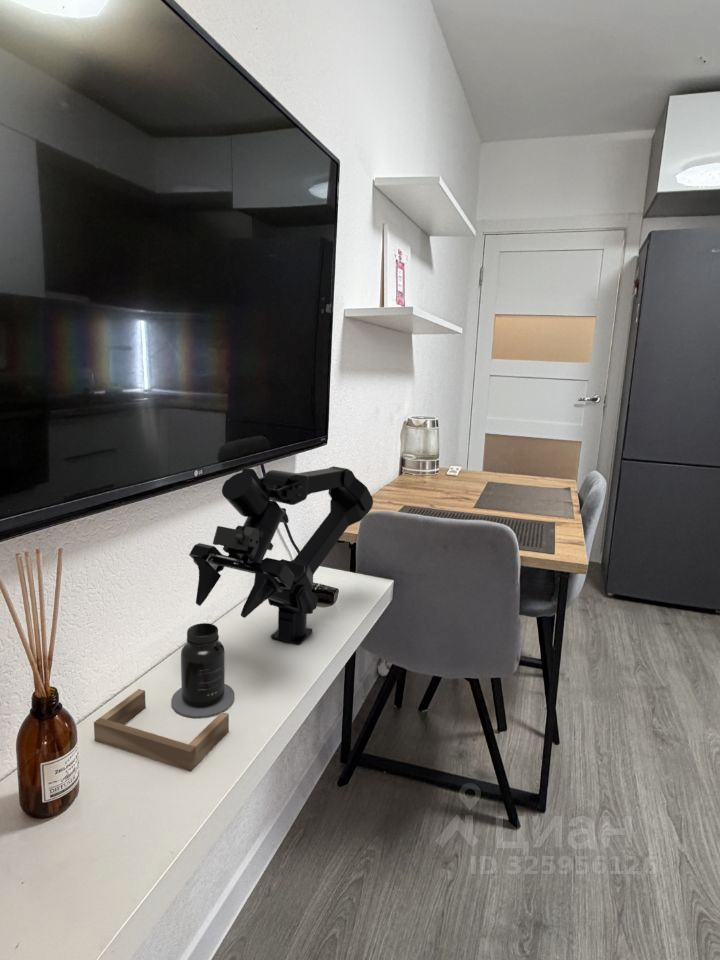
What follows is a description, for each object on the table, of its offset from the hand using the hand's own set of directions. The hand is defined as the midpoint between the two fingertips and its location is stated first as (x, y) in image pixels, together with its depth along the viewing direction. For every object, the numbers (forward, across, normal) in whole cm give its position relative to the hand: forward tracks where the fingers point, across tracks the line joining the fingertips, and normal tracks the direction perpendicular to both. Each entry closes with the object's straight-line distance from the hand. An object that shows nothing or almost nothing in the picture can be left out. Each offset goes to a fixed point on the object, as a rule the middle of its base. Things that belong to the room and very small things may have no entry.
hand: (219, 610), depth 99 cm
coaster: (+13, +1, +6) cm, 15 cm away
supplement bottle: (+13, +1, +6) cm, 14 cm away
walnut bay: (+20, +1, -1) cm, 21 cm away
